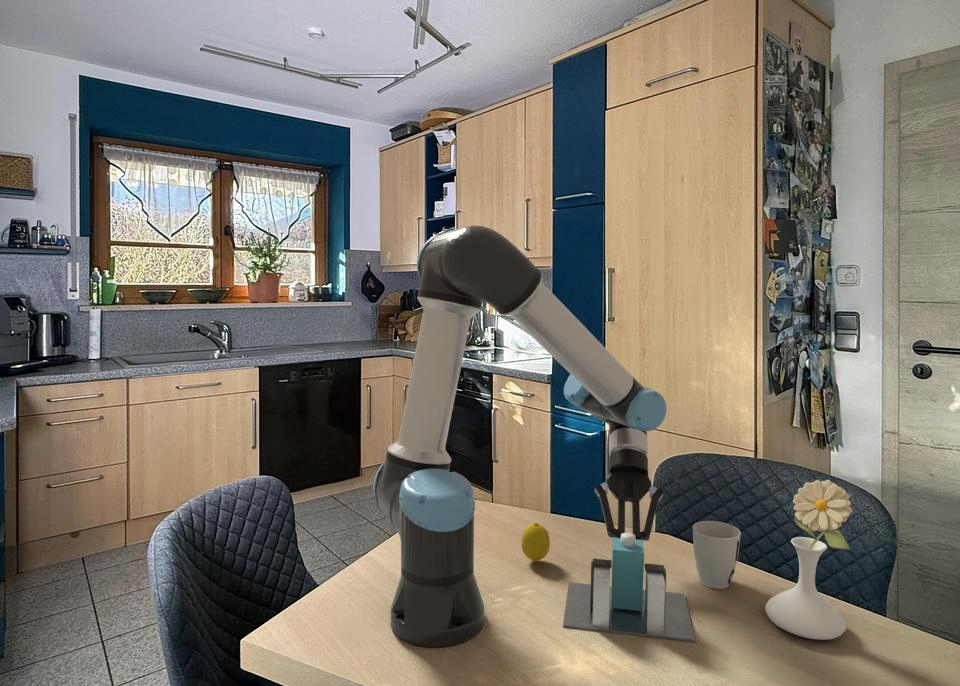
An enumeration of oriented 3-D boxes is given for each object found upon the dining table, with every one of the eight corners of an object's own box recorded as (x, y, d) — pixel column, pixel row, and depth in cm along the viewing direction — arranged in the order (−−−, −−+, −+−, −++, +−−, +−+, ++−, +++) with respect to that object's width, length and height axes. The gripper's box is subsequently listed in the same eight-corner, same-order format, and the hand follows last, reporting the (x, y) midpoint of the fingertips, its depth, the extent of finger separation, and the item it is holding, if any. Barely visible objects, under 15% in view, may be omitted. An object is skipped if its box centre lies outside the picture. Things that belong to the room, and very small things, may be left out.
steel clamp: (563, 626, 97) (564, 573, 96) (568, 584, 110) (569, 536, 110) (695, 642, 93) (697, 586, 92) (684, 596, 106) (686, 547, 105)
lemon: (541, 571, 115) (542, 530, 115) (516, 564, 118) (516, 524, 118) (554, 559, 120) (554, 520, 119) (529, 553, 123) (529, 515, 122)
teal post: (611, 607, 101) (612, 540, 100) (611, 592, 106) (612, 528, 105) (642, 611, 100) (644, 543, 99) (640, 595, 105) (642, 531, 104)
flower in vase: (749, 612, 101) (756, 466, 99) (806, 603, 104) (815, 461, 101) (809, 659, 89) (819, 493, 86) (872, 648, 91) (884, 486, 89)
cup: (742, 595, 107) (745, 540, 106) (694, 590, 108) (696, 536, 107) (733, 573, 115) (735, 522, 114) (687, 569, 116) (690, 519, 115)
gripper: (660, 467, 122) (666, 587, 108) (594, 463, 125) (590, 579, 110) (664, 449, 117) (670, 573, 102) (594, 445, 119) (590, 565, 105)
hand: (629, 576), depth 106 cm, fingers closed
